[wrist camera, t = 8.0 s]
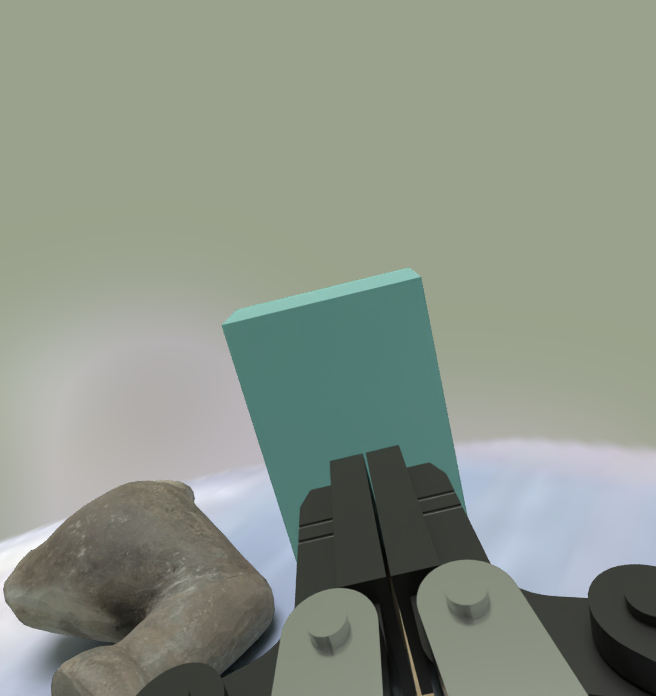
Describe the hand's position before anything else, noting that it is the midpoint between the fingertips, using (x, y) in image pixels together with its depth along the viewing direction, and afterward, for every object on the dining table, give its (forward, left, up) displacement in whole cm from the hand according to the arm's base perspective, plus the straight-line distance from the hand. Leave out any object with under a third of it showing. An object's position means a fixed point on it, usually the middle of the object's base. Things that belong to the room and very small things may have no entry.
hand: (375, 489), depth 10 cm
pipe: (-19, +6, -15) cm, 25 cm away
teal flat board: (-4, +6, -12) cm, 14 cm away
